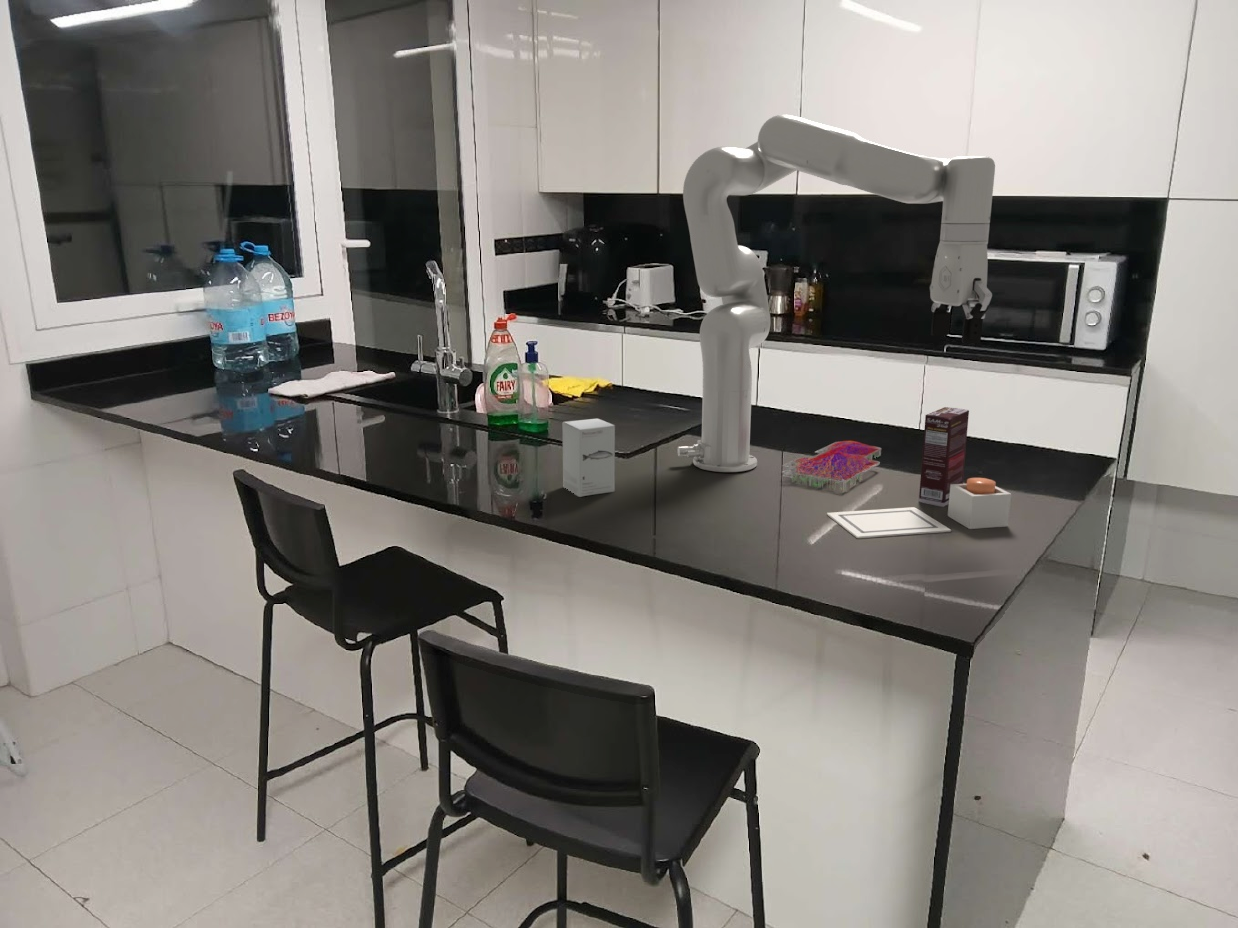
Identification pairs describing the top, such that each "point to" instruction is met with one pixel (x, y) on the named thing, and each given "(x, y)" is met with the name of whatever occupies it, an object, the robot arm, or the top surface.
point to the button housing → (979, 507)
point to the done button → (980, 486)
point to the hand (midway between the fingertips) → (954, 339)
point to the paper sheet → (887, 522)
